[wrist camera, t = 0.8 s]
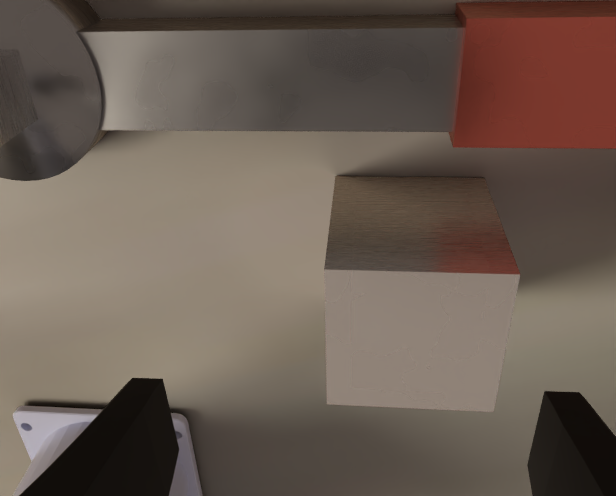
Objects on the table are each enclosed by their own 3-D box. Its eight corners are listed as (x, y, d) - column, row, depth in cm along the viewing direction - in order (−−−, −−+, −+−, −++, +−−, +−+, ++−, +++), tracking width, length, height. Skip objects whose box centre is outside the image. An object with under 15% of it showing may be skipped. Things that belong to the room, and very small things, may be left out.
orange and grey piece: (636, 160, 18) (705, 234, 15) (-29, 154, 20) (-121, 217, 17) (698, -55, 15) (807, -33, 11) (-97, -37, 17) (-229, -13, 13)
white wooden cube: (467, 297, 22) (493, 412, 17) (336, 293, 22) (326, 404, 17) (483, 177, 19) (520, 274, 14) (335, 176, 20) (324, 269, 15)
